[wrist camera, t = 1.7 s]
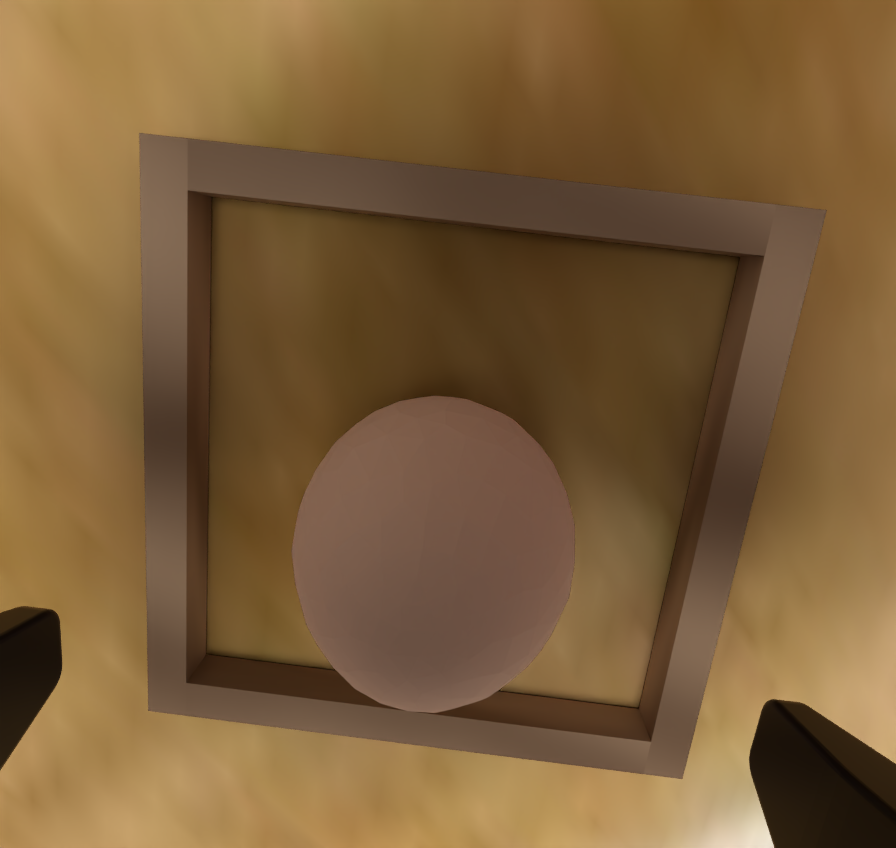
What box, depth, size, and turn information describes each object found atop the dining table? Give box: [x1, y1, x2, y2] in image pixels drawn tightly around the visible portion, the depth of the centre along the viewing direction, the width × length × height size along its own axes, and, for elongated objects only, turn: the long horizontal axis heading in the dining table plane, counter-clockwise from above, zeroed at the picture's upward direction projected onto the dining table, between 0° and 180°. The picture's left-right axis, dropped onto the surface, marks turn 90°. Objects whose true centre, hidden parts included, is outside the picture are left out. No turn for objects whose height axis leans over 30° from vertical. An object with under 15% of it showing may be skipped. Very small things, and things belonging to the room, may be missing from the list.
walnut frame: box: [139, 133, 827, 779], centre depth 15 cm, size 14×14×1 cm
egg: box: [292, 396, 575, 713], centre depth 12 cm, size 5×5×7 cm
